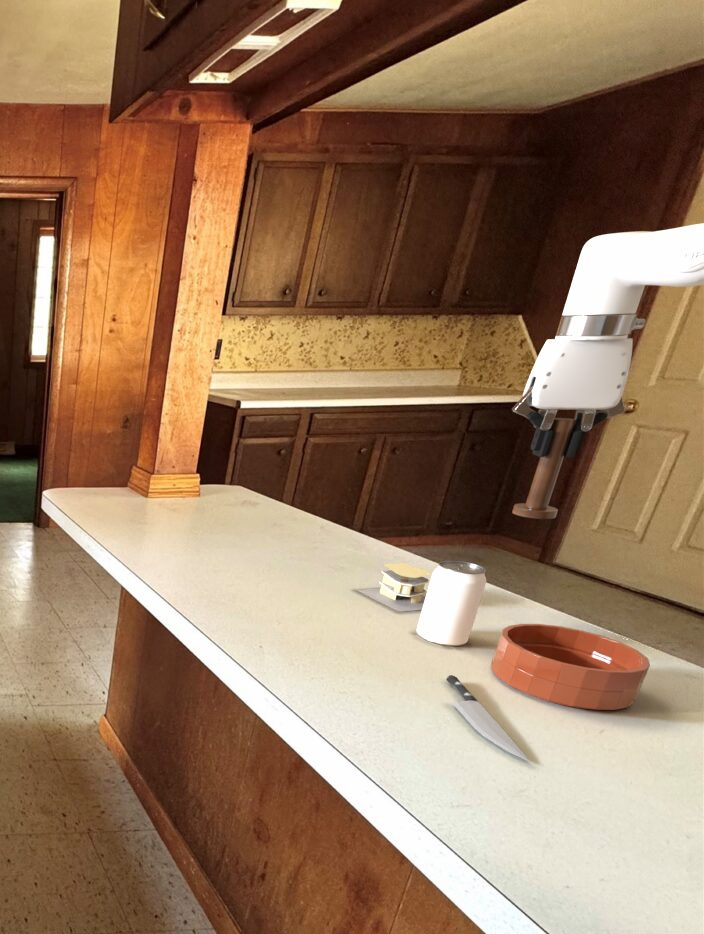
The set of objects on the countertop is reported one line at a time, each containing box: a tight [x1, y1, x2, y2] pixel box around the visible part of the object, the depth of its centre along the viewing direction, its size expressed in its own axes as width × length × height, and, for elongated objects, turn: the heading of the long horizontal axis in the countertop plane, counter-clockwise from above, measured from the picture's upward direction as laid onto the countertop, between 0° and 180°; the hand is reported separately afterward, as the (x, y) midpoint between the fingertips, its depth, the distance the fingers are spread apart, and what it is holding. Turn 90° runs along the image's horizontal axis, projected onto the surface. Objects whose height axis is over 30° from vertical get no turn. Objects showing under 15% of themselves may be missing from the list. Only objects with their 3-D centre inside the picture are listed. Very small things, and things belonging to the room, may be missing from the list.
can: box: [416, 560, 487, 647], centre depth 102 cm, size 6×6×12 cm
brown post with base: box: [511, 417, 576, 520], centre depth 103 cm, size 5×5×15 cm
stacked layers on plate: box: [356, 562, 432, 613], centre depth 118 cm, size 10×9×6 cm
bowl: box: [490, 623, 651, 711], centre depth 89 cm, size 14×14×6 cm
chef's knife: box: [445, 674, 530, 763], centre depth 84 cm, size 19×1×3 cm
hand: (552, 454), depth 102 cm, fingers closed on brown post with base, 2 cm apart
